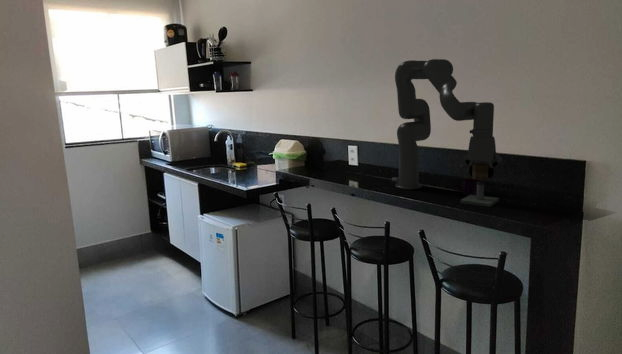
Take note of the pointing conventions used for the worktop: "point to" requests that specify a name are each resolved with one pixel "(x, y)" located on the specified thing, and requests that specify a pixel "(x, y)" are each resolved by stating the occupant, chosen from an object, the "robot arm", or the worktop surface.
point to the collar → (480, 171)
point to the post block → (480, 197)
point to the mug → (469, 186)
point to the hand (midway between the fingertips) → (481, 176)
